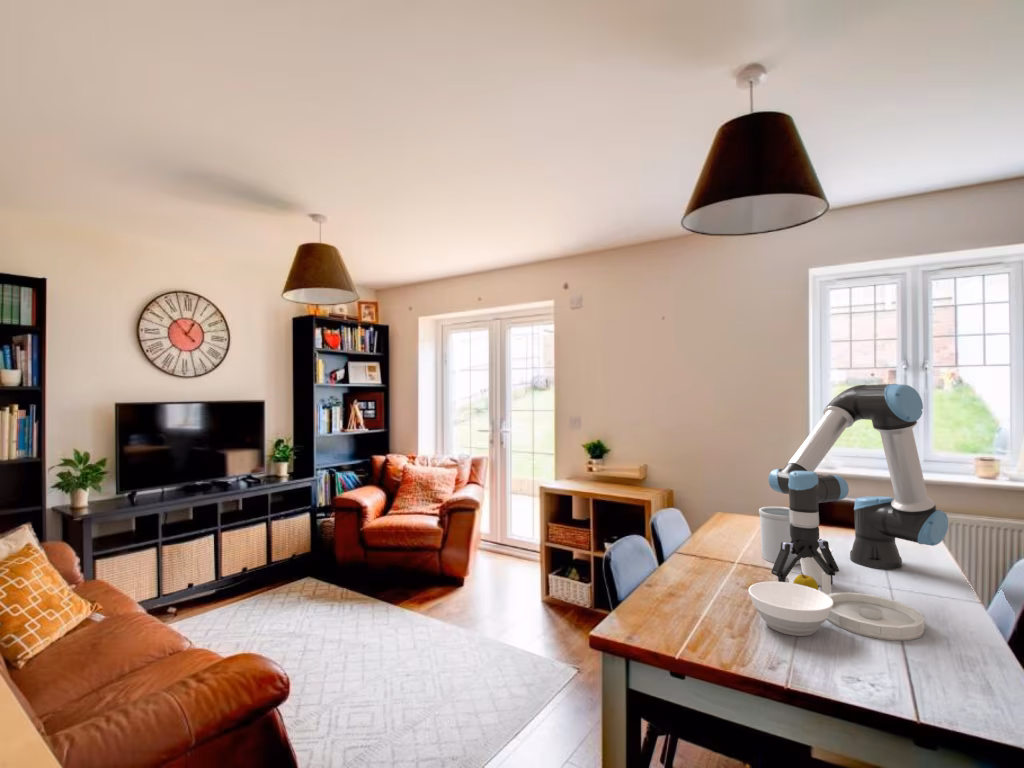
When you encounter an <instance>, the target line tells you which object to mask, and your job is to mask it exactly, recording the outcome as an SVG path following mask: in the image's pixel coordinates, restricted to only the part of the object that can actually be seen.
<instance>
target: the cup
mask: <svg viewBox="0 0 1024 768" xmlns="http://www.w3.org/2000/svg"><path fill="white" fill-rule="evenodd" d="M829 549H830V552H831V553H833V549H832V548H830V547H829ZM817 551H818V552H819V553H820V555H821V557H822V558H823V559H824V561H825V562H826V560H825V558H824V556H823V554H822V552H821V550H820V547H818V549H817ZM800 562H801V564H800V568H801V572H802V573H803V574H802V573H801V574H802V575H807V576H810V577H812V578H813V579H814V580H815V581H816V582H817V584H818V587H822V574H821V572H824V570H823V569H822V568H821V567H820V566H819V564H818V563H817V562H816V561H815V559H814V558H813V557H812V558H809V557H806V558H801V559H800ZM824 573H825V572H824Z"/></svg>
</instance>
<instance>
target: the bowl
mask: <svg viewBox="0 0 1024 768" xmlns="http://www.w3.org/2000/svg"><path fill="white" fill-rule="evenodd" d="M748 593H749V597H750V599H751V601H752V604H753V605H754V607H755V610H756V611H757V613H759V615H760V617H761V619H762V620H763V621H764V622H765V623H766V625H767V626H768V627H769V628H770V629H772V630H774V631H775V632H778V633H781V634H784V635H790V636H794V637H795V636H796V637H809V636H811V635H813V634H815V632H816V631H817V630H819V628H821V626H822V625H823V623H825V621H827V620H826V619H827V617H828V616H829V613H830V611H831V608H832V606H833V600H832V599H831V598H830V597H829V596H828V595H827V594H825V593H823V592H822V590H821V591H820V590H819V589H818V590H816V589H814V588H810V587H807V586H803V585H799V584H794V583H793V582H789V583H787V582H778V581H762V582H761V581H760V582H756V583H753V584H752V585H750V586H749V587H748Z"/></svg>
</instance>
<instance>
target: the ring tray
mask: <svg viewBox="0 0 1024 768" xmlns="http://www.w3.org/2000/svg"><path fill="white" fill-rule="evenodd" d="M828 596H829V597H830V598H831V599H832V600H833V606H832V608H831V611H830V613H829V616H828V617H827V619H826V620H825V621H828V622H829V623H830V624H832V625H834V626H836V627H838V628H840V629H843V630H845V631H848V632H851V633H853V634H856V635H861V636H864V637H868V638H873V639H878V640H886V641H901V642H902V641H904V642H905V641H913V640H917V639H920V638H922V637H923V636H924V635H925V629H926V628H925V618H924V617H925V616H924V615H923V614H922V613H921V612H919V611H917V610H916V608H914V607H912V606H909V605H906V604H904V603H902V602H900V601H897V600H895V599H890V598H886V597H883V596H880V595H879V596H878V595H872V594H867V593H861V592H848V591H847V592H846V591H843V592H833V593H832V592H831V594H828Z"/></svg>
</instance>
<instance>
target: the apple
mask: <svg viewBox="0 0 1024 768" xmlns="http://www.w3.org/2000/svg"><path fill="white" fill-rule="evenodd" d="M792 583H794V584H799V585H803V586H807V587H810V588H814V589H816V590H819V586H818V584H817V582H816V581H815V580H814V579H813V578H812V577H810V576H807V575H803V573H802V571H801V572H800V574H799V575H797V576H796V577H795V578H794V579H793V582H792Z"/></svg>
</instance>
